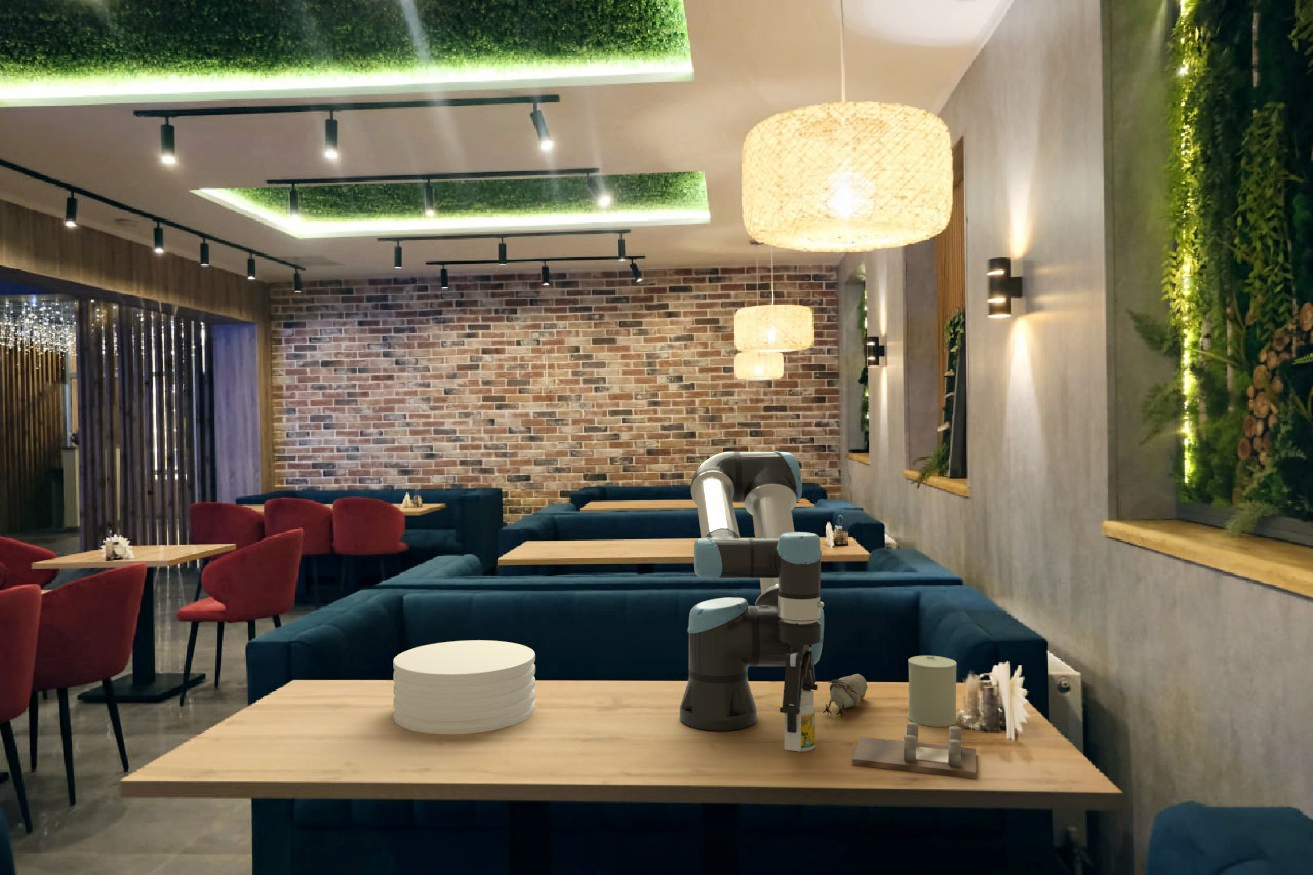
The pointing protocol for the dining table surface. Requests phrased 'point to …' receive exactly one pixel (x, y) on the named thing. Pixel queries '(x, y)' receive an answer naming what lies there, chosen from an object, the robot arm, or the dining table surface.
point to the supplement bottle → (807, 723)
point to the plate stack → (464, 686)
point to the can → (932, 691)
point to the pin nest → (918, 754)
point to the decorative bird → (847, 692)
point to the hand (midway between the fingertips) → (799, 737)
